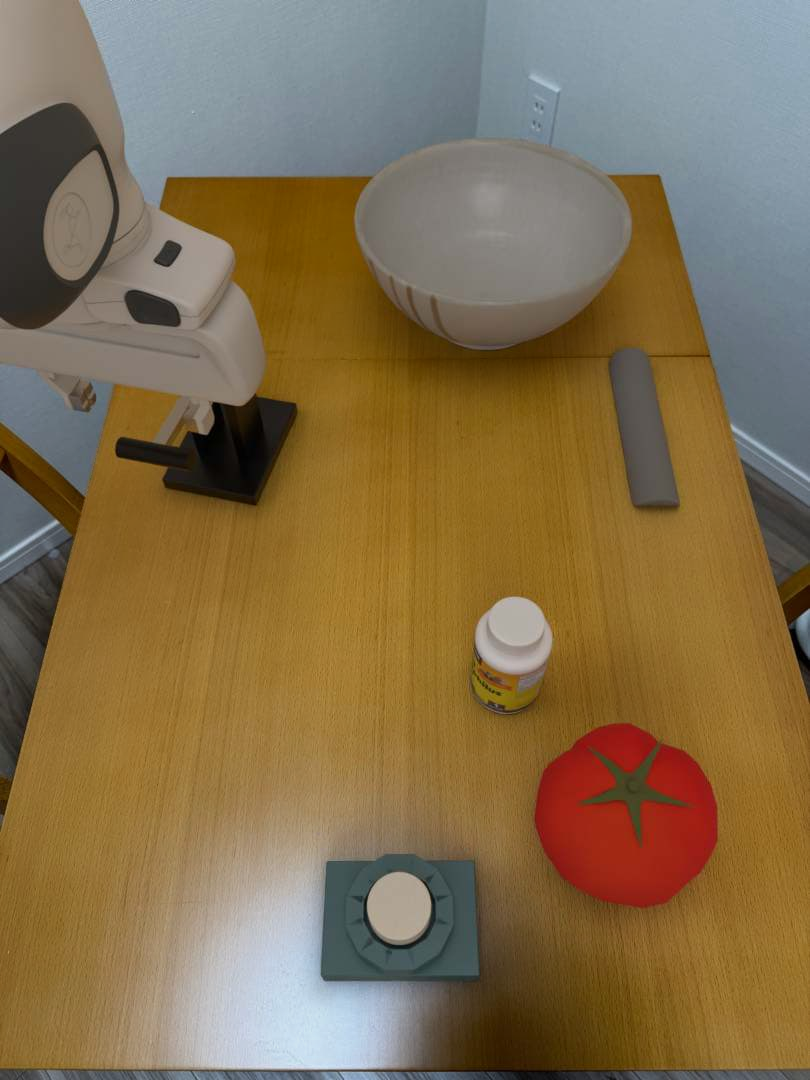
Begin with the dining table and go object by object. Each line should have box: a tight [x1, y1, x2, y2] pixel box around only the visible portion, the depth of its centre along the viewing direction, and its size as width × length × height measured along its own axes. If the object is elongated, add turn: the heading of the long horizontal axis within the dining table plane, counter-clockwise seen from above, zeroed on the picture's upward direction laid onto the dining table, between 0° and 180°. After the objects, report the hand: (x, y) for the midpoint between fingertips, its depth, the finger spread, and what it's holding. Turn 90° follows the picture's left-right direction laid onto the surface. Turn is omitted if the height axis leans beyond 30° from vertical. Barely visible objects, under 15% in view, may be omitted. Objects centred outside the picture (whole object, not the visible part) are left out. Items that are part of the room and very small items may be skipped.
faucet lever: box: [114, 396, 196, 472], centre depth 70 cm, size 13×6×2 cm, turn 166°
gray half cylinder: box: [608, 347, 681, 507], centre depth 82 cm, size 4×20×2 cm, turn 179°
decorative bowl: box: [353, 137, 633, 351], centre depth 88 cm, size 27×27×12 cm
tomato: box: [533, 722, 719, 909], centre depth 56 cm, size 12×12×10 cm
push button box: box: [320, 853, 481, 982], centre depth 56 cm, size 10×7×4 cm
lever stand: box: [161, 392, 298, 506], centre depth 77 cm, size 12×9×13 cm
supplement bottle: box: [469, 596, 553, 715], centre depth 63 cm, size 6×6×10 cm
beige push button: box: [367, 872, 431, 945], centre depth 54 cm, size 4×4×2 cm
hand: (142, 416), depth 63 cm, fingers open, 8 cm apart
